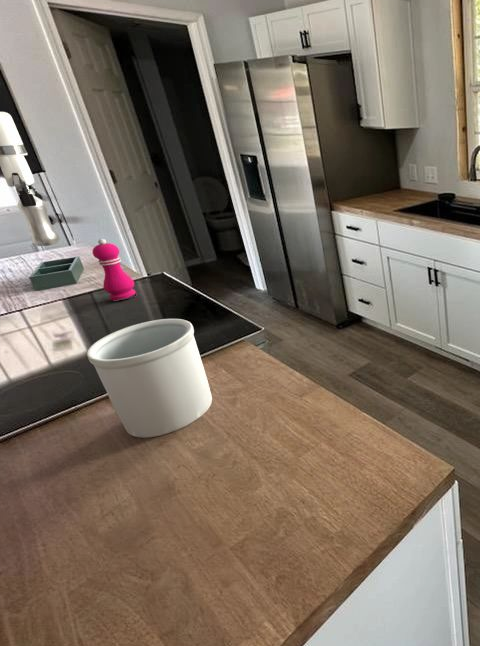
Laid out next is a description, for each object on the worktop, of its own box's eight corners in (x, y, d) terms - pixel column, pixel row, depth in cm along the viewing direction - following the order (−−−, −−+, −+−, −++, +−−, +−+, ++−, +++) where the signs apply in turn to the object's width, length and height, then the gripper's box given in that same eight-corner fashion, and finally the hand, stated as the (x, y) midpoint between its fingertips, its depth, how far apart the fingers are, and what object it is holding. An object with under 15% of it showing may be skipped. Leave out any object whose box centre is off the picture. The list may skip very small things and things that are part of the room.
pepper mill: (108, 298, 134) (84, 239, 126) (137, 291, 138) (116, 234, 131) (109, 304, 129) (84, 244, 122) (139, 297, 134) (117, 238, 126)
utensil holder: (226, 411, 82) (201, 335, 76) (129, 454, 72) (90, 370, 66) (205, 381, 92) (182, 311, 85) (117, 416, 81) (82, 339, 75)
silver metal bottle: (30, 247, 146) (4, 191, 139) (54, 242, 152) (30, 188, 145) (43, 248, 145) (18, 191, 137) (66, 243, 151) (43, 188, 144)
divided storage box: (35, 291, 140) (28, 277, 138) (46, 274, 154) (41, 262, 152) (76, 283, 145) (71, 270, 144) (84, 268, 160) (79, 256, 158)
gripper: (-1, 150, 141) (22, 202, 147) (-16, 153, 128) (10, 210, 135) (31, 148, 145) (52, 199, 152) (19, 152, 133) (43, 207, 139)
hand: (32, 204), depth 143 cm, fingers closed on silver metal bottle, 6 cm apart
